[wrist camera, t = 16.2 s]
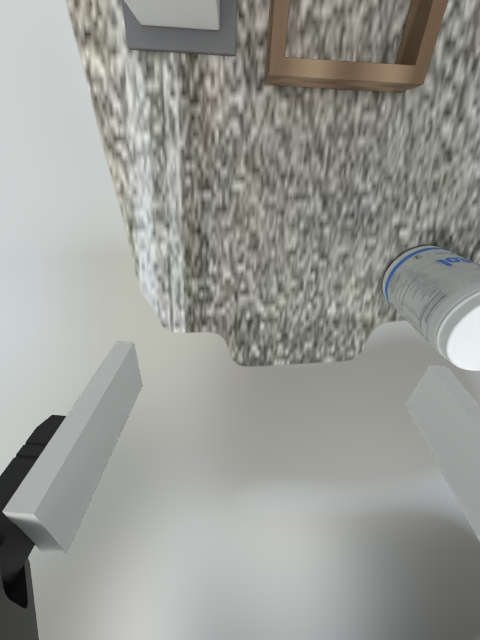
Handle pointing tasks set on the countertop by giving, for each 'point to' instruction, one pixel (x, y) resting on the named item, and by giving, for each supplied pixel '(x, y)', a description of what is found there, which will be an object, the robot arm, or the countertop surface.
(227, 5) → the rubber mat
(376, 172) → the countertop surface
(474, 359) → the supplement tub
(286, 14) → the wooden square frame
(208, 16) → the milk carton
